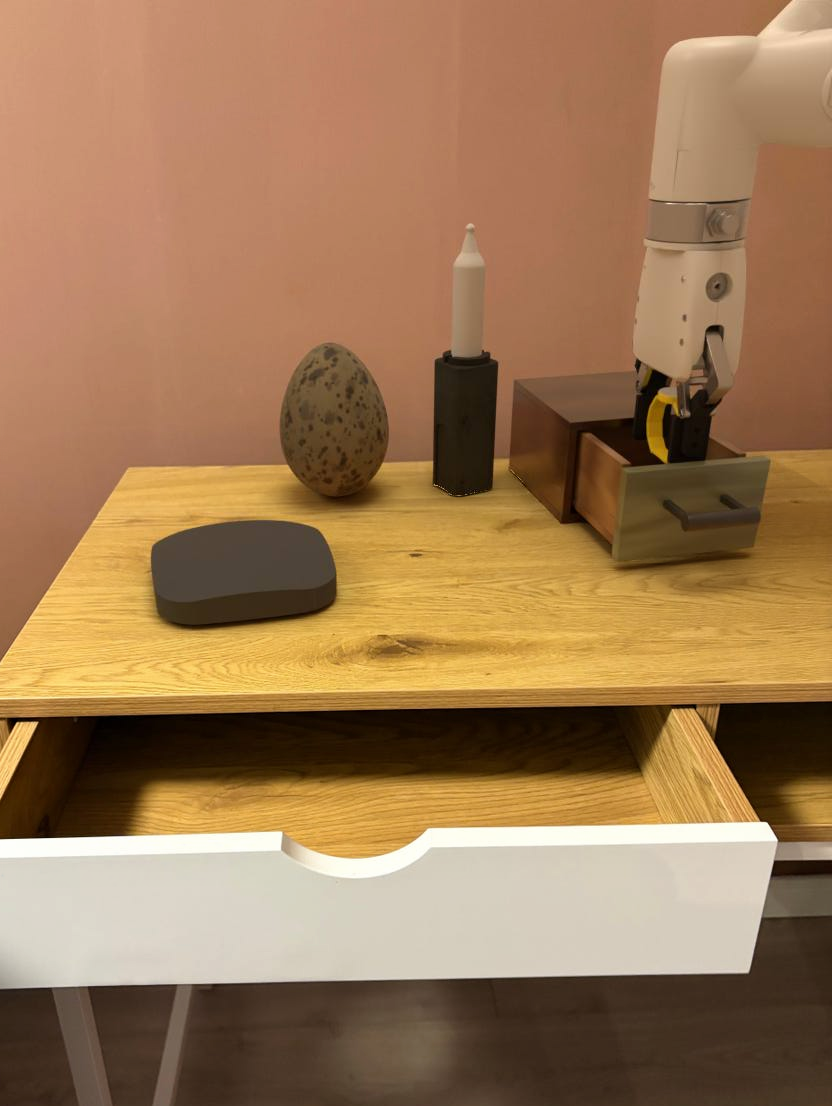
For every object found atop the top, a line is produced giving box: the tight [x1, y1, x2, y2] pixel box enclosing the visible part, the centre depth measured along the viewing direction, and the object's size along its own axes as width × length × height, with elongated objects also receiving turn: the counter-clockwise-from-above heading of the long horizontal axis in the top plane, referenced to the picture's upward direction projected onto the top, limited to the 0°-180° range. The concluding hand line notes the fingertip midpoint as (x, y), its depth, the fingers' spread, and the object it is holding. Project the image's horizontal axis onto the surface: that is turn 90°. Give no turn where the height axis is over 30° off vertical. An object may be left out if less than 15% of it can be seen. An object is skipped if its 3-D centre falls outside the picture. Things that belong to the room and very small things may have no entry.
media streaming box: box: [150, 519, 338, 626], centre depth 80 cm, size 15×15×3 cm
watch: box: [646, 386, 694, 464], centre depth 83 cm, size 6×3×6 cm, turn 11°
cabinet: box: [508, 370, 677, 524], centre depth 96 cm, size 16×14×10 cm
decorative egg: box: [279, 342, 390, 497], centre depth 95 cm, size 11×11×15 cm
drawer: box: [571, 423, 772, 562], centre depth 84 cm, size 19×12×8 cm, turn 10°
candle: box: [432, 223, 499, 495], centre depth 94 cm, size 5×5×25 cm
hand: (667, 448), depth 84 cm, fingers closed on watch, 6 cm apart
